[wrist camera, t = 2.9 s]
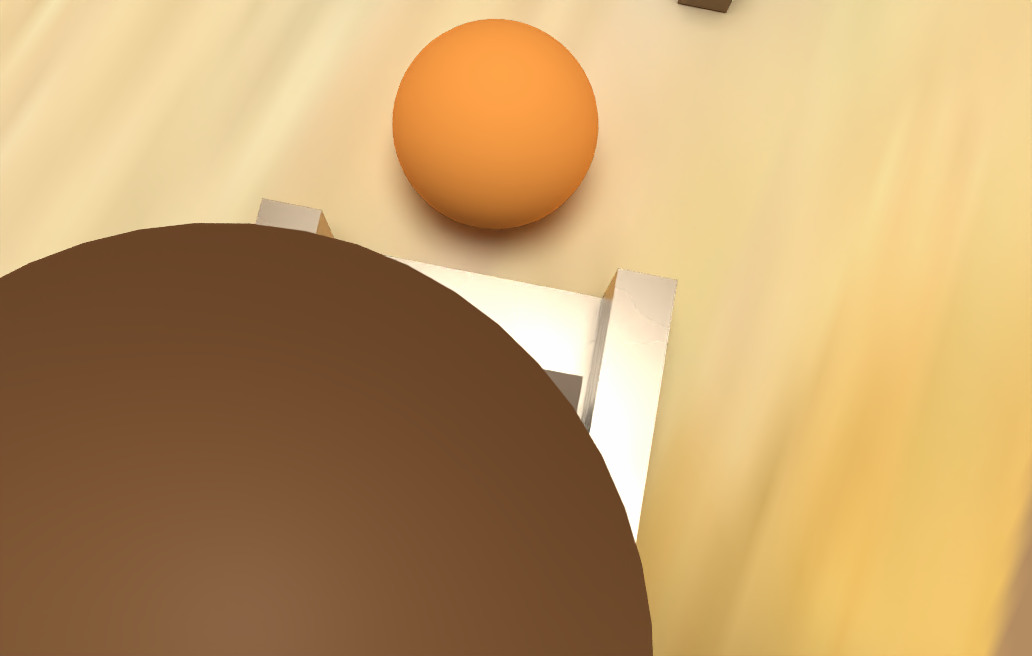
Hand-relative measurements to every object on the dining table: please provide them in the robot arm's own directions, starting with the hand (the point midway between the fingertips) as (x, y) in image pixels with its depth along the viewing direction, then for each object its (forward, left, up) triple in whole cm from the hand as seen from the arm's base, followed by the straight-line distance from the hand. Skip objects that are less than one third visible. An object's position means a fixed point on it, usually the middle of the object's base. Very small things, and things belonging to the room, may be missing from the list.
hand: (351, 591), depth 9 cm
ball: (+5, +5, -7) cm, 10 cm away
